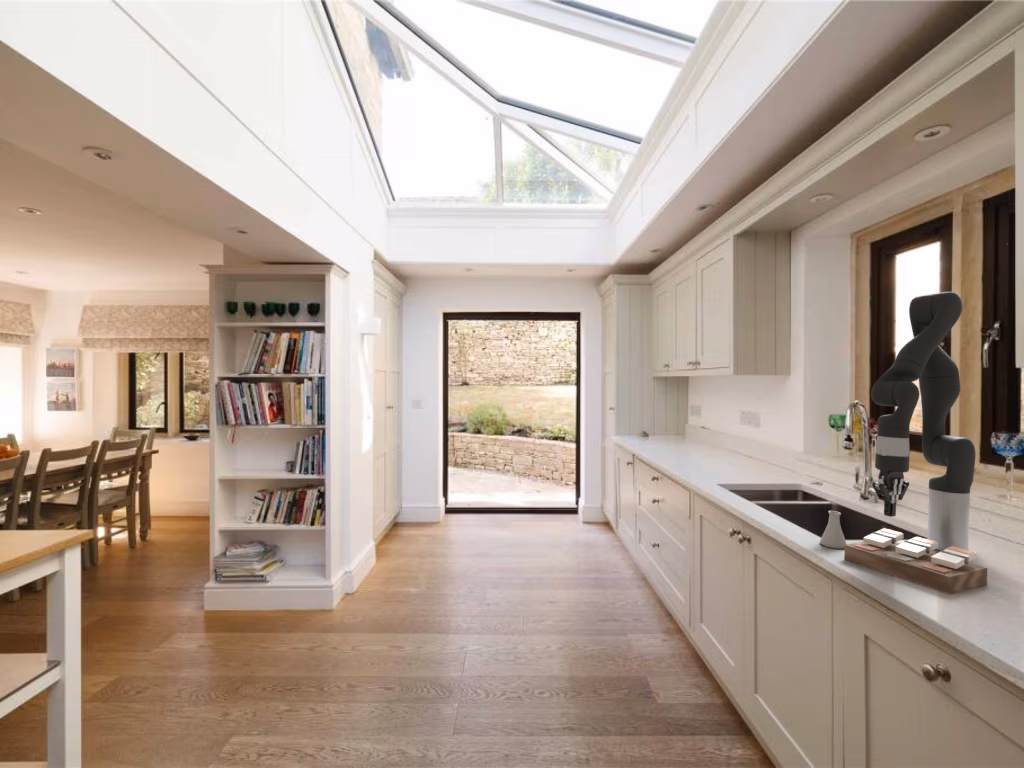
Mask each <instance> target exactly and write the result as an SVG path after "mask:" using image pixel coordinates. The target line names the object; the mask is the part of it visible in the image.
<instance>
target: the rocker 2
mask: <svg viewBox="0 0 1024 768" xmlns="http://www.w3.org/2000/svg"><path fill="white" fill-rule="evenodd" d="M895 548H896V552H899V553H902V554H906V555H909V556H913V557H916V558H919V557H921V556H923V555H925V554H929V553H930V552H932V551H934V550H937V549H936V548H938V542H935V541H932V540H928V539H927V538H923V537H920V536H914V537H912V538H910V539H908V540H904V541H903V542H902V543H899V545H897V546H895Z"/></svg>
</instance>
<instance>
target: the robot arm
mask: <svg viewBox="0 0 1024 768" xmlns="http://www.w3.org/2000/svg"><path fill="white" fill-rule="evenodd" d="M962 311H963V302H962V298H961V296H959V294H958V293H956V292H954V291H943V292H935V293H930V294H929V293H928V294H924V295H918V296H915V297H913V298H912V299H911V301H910V302H909V308H908V312H909V313H908V314H909V315H908V316H909V320H910V326H911V330H912V331H911V332H912V335H913V338H911V340H909V341H907V342H906V343H905V344H904V345H903V346H902V348H901V349H900V350H899V351H898V353H897V355H896V357H895V359H894V361H893V363H892V365H891V367H889V368H888V369H887V370H886V371H885V372H884V373H883V374H882V375H880V377H879V378H878V379H877V380H876V381H875V383H874V384H873V386H872V388H871V391H870V397H871V400H872V402H873V403H875V404H876V405H878V406H881V407H896V409H895V411H894V412H893V413H891V414H882V415H880V416H879V417H878V419H877V436H876V441H875V455H874V457H875V458H874V468H875V470H879V474H878V480H877V482H872V483H871V485H872V487H873V489H874V492H875V494H876V496H877V499H878V500H881V501H882V502H883V503H884V504H883V505H884V506H883V515H884V516H886V517H891V518H892V517H896V515H897V504H898V502H899V501H902V500H903V498H904V496H905V494H906V492H907V490H908V488H909V486H910V482H909V481H906V480H904V479H905V477H904V473H908V472H909V471H910V455H911V454H910V453H911V452H910V450H911V446H910V444H911V443H910V428H911V427H910V426H911V420H912V417H913V416H914V415H913V414H914V411H915V410H916V407H917V405H918V402H919V399H920V401H921V402H920V403H921V415H922V416H921V417H922V421H921V422H922V426H921V428H922V429H921V432H922V433H921V449H922V454H923V458H924V459H925V461H926V462H927V463H929V465H934V466H940V467H946V471H945V473H944V475H940V476H936V477H932V478H930V479H929V480H928V500H927V501H928V502H927V503H928V504H927V534H926V535H927V536H926V537H927V538H926V539H928V540H932V541H935V542H938V548H936V549H935V550H938V551H941V550H945V549H947V548H949V547H951V546H955V547H959V548H963V549H966V550H969V544H970V543H969V539H970V538H969V537H970V511H971V510H970V509H971V508H970V506H971V503H970V500H971V487H972V485H973V482H974V475H975V464H976V448H975V445H974V442H973V441H972V440H971V439H969V438H967V437H961V436H954V435H947V434H946V433H947V432H946V419H947V416H948V414H949V412H950V410H951V409H952V407H953V406H954V404H955V403H956V401H957V399H958V397H959V395H960V393H961V380H960V370H959V368H958V365H957V364H956V362H955V361H954V360H953V359H952V358H951V356H950V355H948V353H947V352H946V351H945V350H944V349H942V347H941V346H940V344H941V343H942V341H943V340H944V339H945V337H946V336H947V335H948V333H949V332H950V331H951V330H952V329H953V327H954V326H955V324H956V323H957V322H958V320H959V319H960V317H961V314H962ZM916 381H918V385H919V387H918V386H917V385H916V384H915V383H914V382H916Z"/></svg>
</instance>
